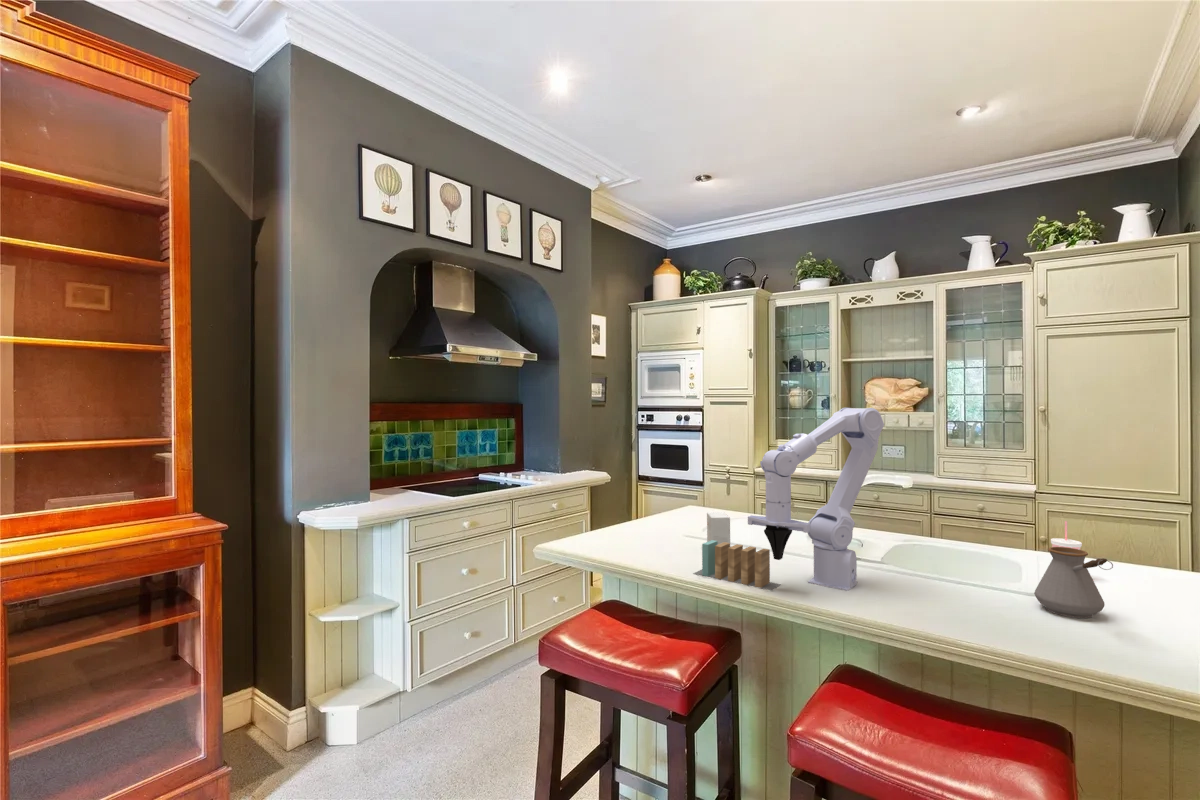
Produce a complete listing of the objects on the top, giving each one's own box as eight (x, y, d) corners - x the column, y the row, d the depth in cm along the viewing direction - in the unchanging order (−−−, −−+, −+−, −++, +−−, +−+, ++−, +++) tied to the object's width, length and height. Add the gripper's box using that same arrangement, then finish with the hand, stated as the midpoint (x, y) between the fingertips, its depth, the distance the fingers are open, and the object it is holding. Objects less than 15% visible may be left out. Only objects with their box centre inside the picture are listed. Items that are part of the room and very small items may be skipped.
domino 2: (742, 577, 144) (742, 545, 144) (734, 581, 140) (733, 549, 140) (736, 575, 145) (736, 544, 145) (727, 580, 141) (727, 548, 141)
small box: (730, 553, 168) (730, 517, 168) (711, 553, 168) (711, 517, 168) (725, 546, 176) (725, 512, 176) (706, 546, 176) (706, 512, 176)
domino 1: (730, 574, 146) (729, 543, 146) (720, 579, 142) (720, 546, 142) (724, 573, 147) (724, 542, 147) (715, 577, 143) (715, 545, 143)
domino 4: (769, 582, 140) (769, 549, 140) (761, 587, 136) (761, 553, 136) (763, 581, 141) (763, 548, 141) (754, 586, 137) (754, 552, 137)
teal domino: (717, 572, 148) (717, 541, 148) (707, 576, 145) (707, 544, 145) (712, 570, 149) (712, 540, 150) (702, 575, 146) (702, 543, 146)
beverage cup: (1072, 581, 141) (1072, 524, 141) (1045, 574, 146) (1045, 519, 146) (1087, 578, 143) (1087, 522, 143) (1060, 572, 149) (1060, 517, 149)
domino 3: (756, 579, 142) (756, 547, 142) (747, 584, 138) (747, 551, 138) (750, 578, 143) (749, 546, 143) (741, 583, 139) (741, 550, 139)
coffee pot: (1025, 599, 128) (1025, 532, 128) (1088, 605, 124) (1087, 536, 124) (1069, 637, 108) (1069, 557, 108) (1146, 645, 104) (1145, 562, 104)
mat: (781, 585, 138) (781, 584, 138) (771, 591, 134) (771, 590, 134) (703, 569, 151) (703, 568, 151) (692, 574, 147) (692, 573, 147)
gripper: (742, 500, 137) (742, 556, 137) (802, 507, 128) (802, 567, 128) (754, 496, 143) (754, 551, 143) (813, 502, 134) (813, 561, 134)
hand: (778, 558), depth 136 cm, fingers closed
